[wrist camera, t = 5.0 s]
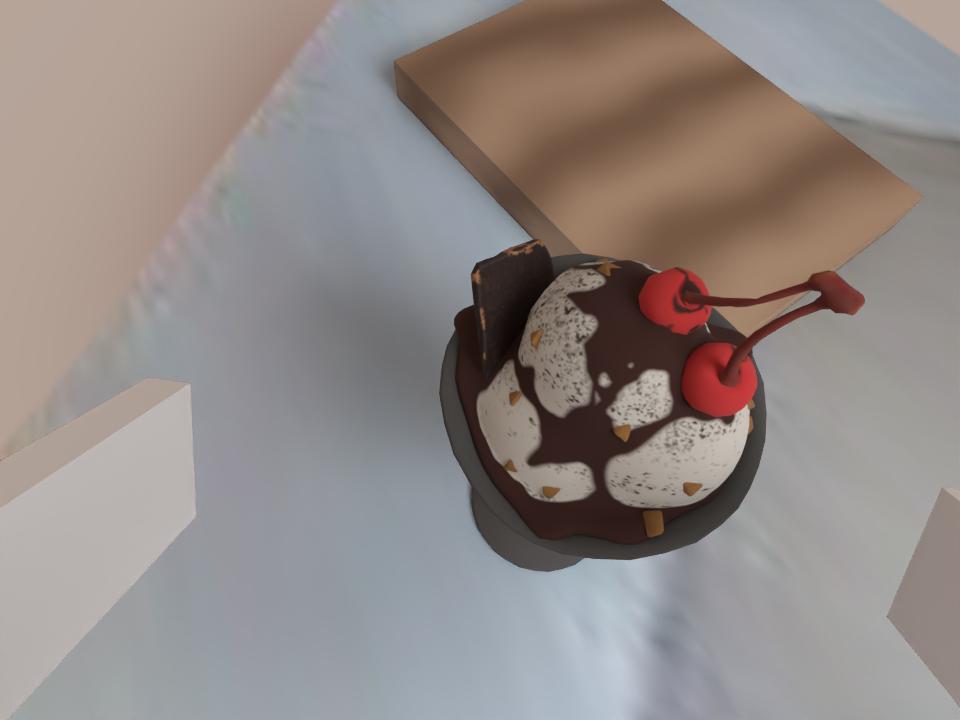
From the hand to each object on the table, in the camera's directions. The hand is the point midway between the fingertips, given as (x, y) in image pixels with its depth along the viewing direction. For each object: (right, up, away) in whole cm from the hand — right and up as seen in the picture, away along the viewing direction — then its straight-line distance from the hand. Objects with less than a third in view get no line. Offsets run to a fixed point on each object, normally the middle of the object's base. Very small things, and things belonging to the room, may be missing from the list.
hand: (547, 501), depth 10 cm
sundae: (+1, -3, +11) cm, 11 cm away
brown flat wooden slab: (+6, +12, +18) cm, 23 cm away
